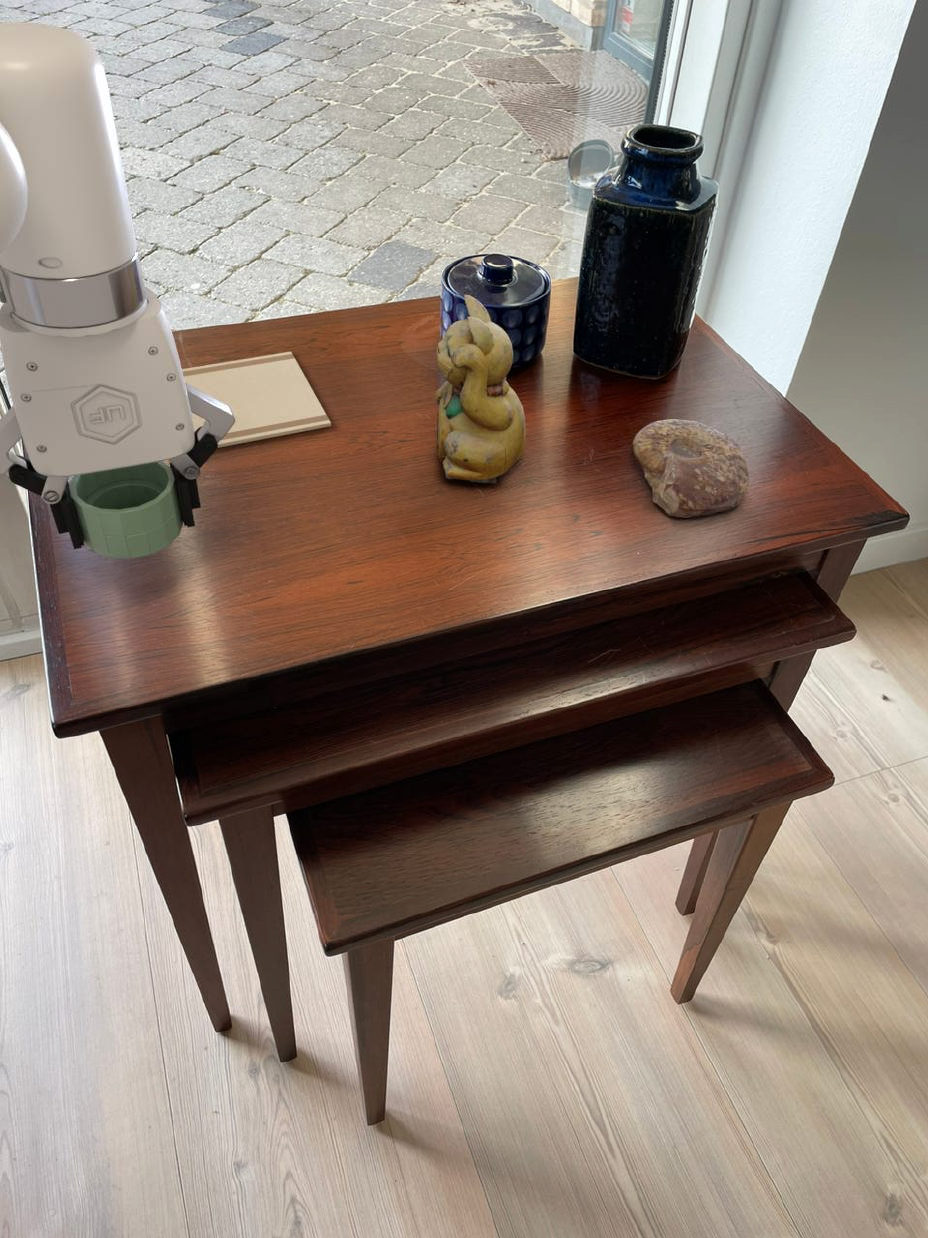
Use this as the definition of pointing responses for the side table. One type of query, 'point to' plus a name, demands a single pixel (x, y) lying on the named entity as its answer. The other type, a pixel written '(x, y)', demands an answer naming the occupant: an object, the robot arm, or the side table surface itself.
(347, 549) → the side table surface
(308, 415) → the cloth
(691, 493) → the fossil
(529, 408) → the side table surface
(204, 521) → the side table surface
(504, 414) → the decorative figurine
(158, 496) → the bowl
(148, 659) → the side table surface
